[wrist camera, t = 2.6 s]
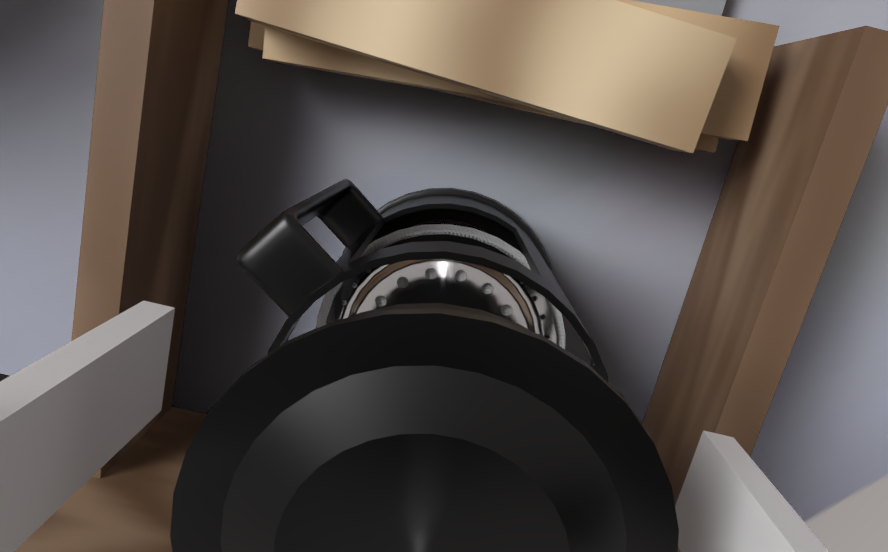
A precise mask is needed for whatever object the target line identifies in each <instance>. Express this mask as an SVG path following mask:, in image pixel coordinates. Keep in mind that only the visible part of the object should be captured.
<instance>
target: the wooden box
mask: <svg viewBox="0 0 888 552" xmlns="http://www.w3.org/2000/svg"><path fill="white" fill-rule="evenodd" d="M228 2H229V0H104V6H103V16H102V27H101V37H100V48H99V58H98V69H97V79H96V90H95V100H94V111H93V121H92V132H91V142H90V153H89V163H88V174H87V184H86V195H85V205H84V215H83V226H82V236H81V247H80V257H79V268H78V278H77V289H76V299H75V310H74V320H73V331H72V341H73V340H75V339H76V338H78V337H80V336H82V335H83V334H85V333H87V332H89V331H90V330H92V329H94V328H96V327H98V326H99V325H101V324H103V323H105V322H106V321H108V320H110V319H112V318H113V317H115V316H117V315H119V314H121V313H122V312H124V311H126V310H128V309H129V308H131V307H133V306H135V305H136V304H138V303H140V302H142V301H148V302H152V303H157V304H161V305H165V306H170V307H174V308H175V312H174V319H173V327H172V334H171V342H170V349H169V356H168V364H167V371H166V379H165V386H164V394H163V401H162V408H161V411H160V412H159V413H158V414H157V415H156V416H155V417H154V418H153V419H152V420H151V421H150V422H149V423H148V424H147V425H146V426H144V427H143V428H142V429H141V430H140V431H139V432H138V433H137V434H136V435H135V436H134V437H133V438H132V439H131V440H130V441H129V442H128V443H127V444H126V445H125V446H124V447H123V448H122V449H120V450H119V451H118V452H117V453H116V454H115V455H114V456H113V457H112V458H111V459H110V460H109V461H108V462H107V463H106V464H105V465H104V466H103V467H102V468H101V469H100V470H99V471H98V472H96V473H95V474H94V475H93V476H92V477H91V478H90V479H89V480H88V481H87V482H86V483H85V484H84V485H83V486H82V487H81V488H80V489H79V490H78V491H77V492H76V493H75V494H74V495H72V496H71V497H70V498H69V499H68V500H67V501H66V502H65V503H64V504H63V505H62V506H61V507H60V508H59V509H58V510H57V511H56V512H55V513H54V514H53V515H52V516H51V517H50V518H48V519H47V520H46V521H45V522H44V523H43V524H42V525H41V526H40V527H39V528H38V529H37V530H36V531H35V532H34V533H33V534H32V535H31V536H30V537H29V538H28V539H27V540H26V541H24V542H23V543H22V544H21V545H20V546H19V547H18V548H17V549H16V550H15V551H14V552H172V545H171V539H170V531H171V517H172V504H173V492H174V489H175V486H176V483H177V479H178V476H179V473H180V470H181V466H182V463H183V460H184V457H185V453H186V450H187V449H188V447H189V445H190V443H191V442H192V440H193V438H194V437H195V435H196V433H197V431H198V430H199V428H200V426H201V425H202V423H203V421H204V419H205V418H206V416H207V414H204V413H199V412H195V411H190V410H186V409H181V408H177V407H172V402H173V395H174V388H175V381H176V373H177V366H178V359H179V352H180V345H181V338H182V331H183V323H184V316H185V309H186V302H187V295H188V288H189V281H190V273H191V266H192V259H193V252H194V245H195V238H196V231H197V224H198V216H199V209H200V202H201V195H202V188H203V181H204V174H205V166H206V159H207V152H208V145H209V138H210V131H211V124H212V117H213V109H214V102H215V95H216V88H217V81H218V74H219V67H220V59H221V52H222V45H223V38H224V31H225V24H226V17H227V10H228ZM887 105H888V31H885V30H881V29H877V28H873V27H869V26H863V27H859V28H854V29H850V30H846V31H841V32H837V33H832V34H828V35H824V36H819V37H815V38H810V39H806V40H802V41H797V42H793V43H788V44H784V45H780V46H775V47H773V51H772V54H771V58H770V62H769V65H768V69H767V73H766V76H765V80H764V83H763V87H762V91H761V94H760V98H759V102H758V105H757V109H756V113H755V116H754V120H753V123H752V127H751V131H750V134H749V138H748V141H741V140H739V142H738V144H737V147H736V150H735V153H734V156H733V159H732V162H731V165H730V168H729V171H728V174H727V177H726V180H725V183H724V186H723V188H722V191H721V194H720V197H719V200H718V203H717V206H716V209H715V212H714V215H713V218H712V221H711V224H710V227H709V230H708V233H707V235H706V238H705V241H704V244H703V247H702V250H701V253H700V256H699V259H698V262H697V265H696V268H695V271H694V274H693V277H692V279H691V282H690V285H689V288H688V291H687V294H686V297H685V300H684V303H683V306H682V309H681V312H680V315H679V318H678V321H677V323H676V326H675V329H674V332H673V335H672V338H671V341H670V344H669V347H668V350H667V353H666V356H665V359H664V362H663V365H662V368H661V370H660V373H659V376H658V379H657V382H656V385H655V388H654V391H653V394H652V397H651V400H650V403H649V406H648V409H647V412H646V414H645V417H644V420H643V423H642V425H643V427H644V428H645V430H646V431H647V432H648V434H649V435H650V437H651V439H652V440H653V442H654V444H655V446H656V449H657V451H658V454H659V456H660V459H661V461H662V463H663V466H664V468H665V471H666V473H667V476H668V478H669V481H670V483H671V485H672V490H673V497H674V503H675V505H676V503H677V500H678V497H679V495H680V492H681V489H682V487H683V484H684V481H685V478H686V476H687V473H688V470H689V468H690V465H691V462H692V459H693V457H694V454H695V451H696V449H697V446H698V443H699V440H700V438H701V435H702V432H703V430H704V431H708V432H713V433H717V434H721V435H725V436H730V437H734V439H735V440H736V441H737V442H738V443H739V445H740V446H741V447H742V448H743V449H744V451H745V452H746V453H747V454H748V455H749V457H750V455H751V452H752V450H753V447H754V445H755V442H756V440H757V437H758V434H759V432H760V429H761V427H762V424H763V422H764V419H765V417H766V414H767V411H768V409H769V406H770V404H771V401H772V399H773V396H774V394H775V391H776V388H777V386H778V383H779V381H780V378H781V376H782V373H783V371H784V368H785V365H786V363H787V360H788V358H789V355H790V353H791V350H792V348H793V345H794V343H795V340H796V337H797V335H798V332H799V330H800V327H801V325H802V322H803V320H804V317H805V314H806V312H807V309H808V307H809V304H810V302H811V299H812V297H813V294H814V291H815V289H816V286H817V284H818V281H819V279H820V276H821V274H822V271H823V268H824V266H825V263H826V261H827V258H828V256H829V253H830V251H831V248H832V246H833V243H834V240H835V238H836V235H837V233H838V230H839V228H840V225H841V223H842V220H843V217H844V215H845V212H846V210H847V207H848V205H849V202H850V200H851V197H852V194H853V192H854V189H855V187H856V184H857V182H858V179H859V177H860V174H861V171H862V169H863V166H864V164H865V161H866V159H867V156H868V154H869V151H870V149H871V146H872V143H873V141H874V138H875V136H876V133H877V131H878V128H879V126H880V123H881V120H882V118H883V115H884V113H885V110H886V108H887ZM678 552H680V550H679V548H678Z"/></svg>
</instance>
